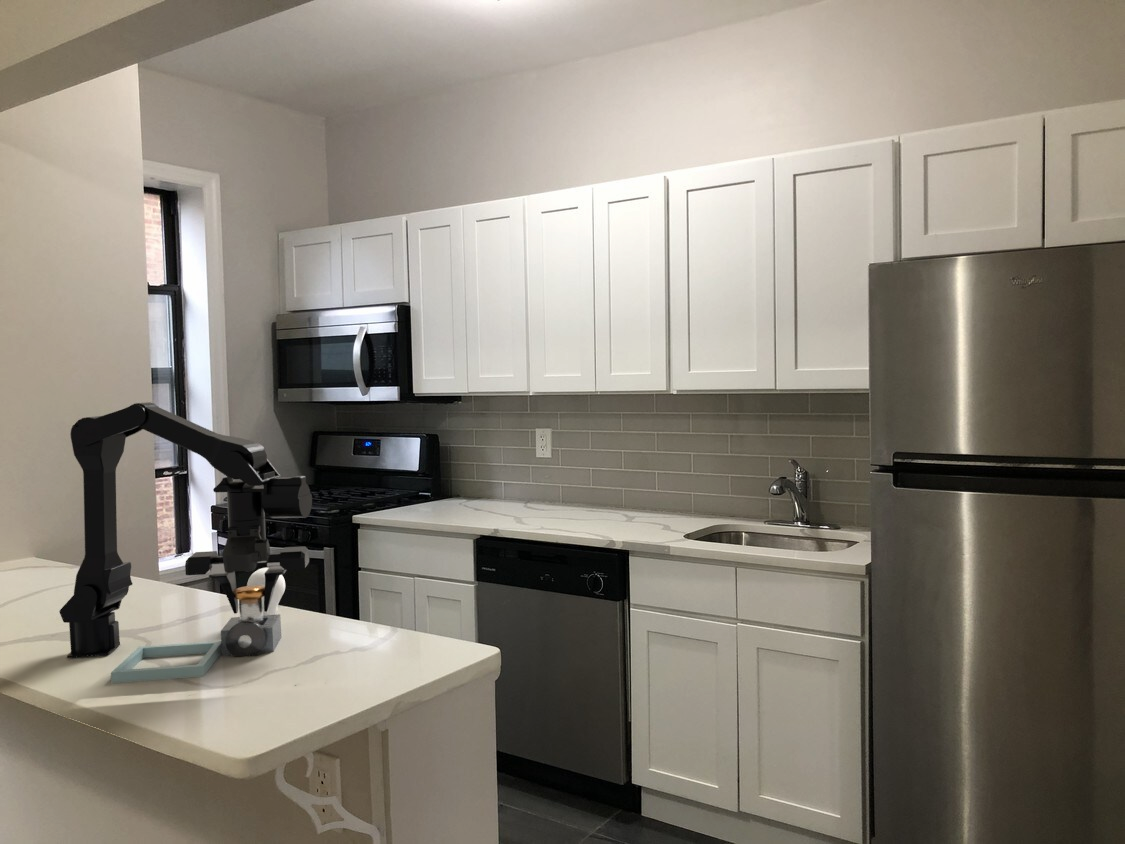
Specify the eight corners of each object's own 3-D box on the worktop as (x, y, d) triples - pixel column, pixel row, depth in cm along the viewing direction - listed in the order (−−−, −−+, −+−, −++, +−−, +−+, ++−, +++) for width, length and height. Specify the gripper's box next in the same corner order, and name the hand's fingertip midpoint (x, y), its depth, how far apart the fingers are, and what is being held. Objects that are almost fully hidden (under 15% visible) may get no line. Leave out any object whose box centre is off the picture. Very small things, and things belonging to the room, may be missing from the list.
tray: (111, 689, 134) (110, 672, 134) (139, 661, 147) (138, 646, 147) (203, 682, 136) (202, 666, 136) (223, 655, 149) (222, 640, 149)
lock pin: (234, 643, 148) (231, 593, 147) (240, 634, 152) (237, 586, 152) (264, 641, 148) (262, 591, 148) (269, 632, 153) (267, 584, 152)
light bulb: (275, 633, 161) (272, 572, 160) (241, 632, 162) (238, 571, 162) (294, 623, 167) (291, 564, 167) (261, 622, 169) (258, 563, 168)
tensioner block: (219, 665, 144) (217, 625, 144) (232, 646, 154) (231, 608, 153) (271, 661, 145) (269, 621, 145) (281, 643, 155) (279, 605, 155)
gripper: (173, 529, 140) (178, 629, 141) (298, 523, 143) (302, 621, 143) (191, 518, 151) (196, 611, 152) (307, 512, 154) (311, 603, 154)
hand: (251, 612), depth 150 cm, fingers closed on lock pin, 4 cm apart
